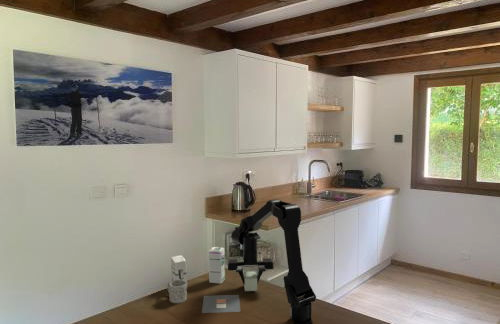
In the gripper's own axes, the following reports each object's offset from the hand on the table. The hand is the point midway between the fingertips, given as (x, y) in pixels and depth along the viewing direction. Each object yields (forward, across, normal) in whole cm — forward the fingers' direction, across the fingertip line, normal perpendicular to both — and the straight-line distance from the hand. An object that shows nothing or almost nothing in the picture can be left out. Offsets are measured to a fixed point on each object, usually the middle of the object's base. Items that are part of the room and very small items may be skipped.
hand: (250, 284), depth 151 cm
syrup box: (+2, +14, -10) cm, 17 cm away
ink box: (+2, +30, -6) cm, 31 cm away
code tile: (+2, +12, +12) cm, 17 cm away
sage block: (+1, 0, 0) cm, 1 cm away
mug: (+2, +30, +6) cm, 31 cm away
